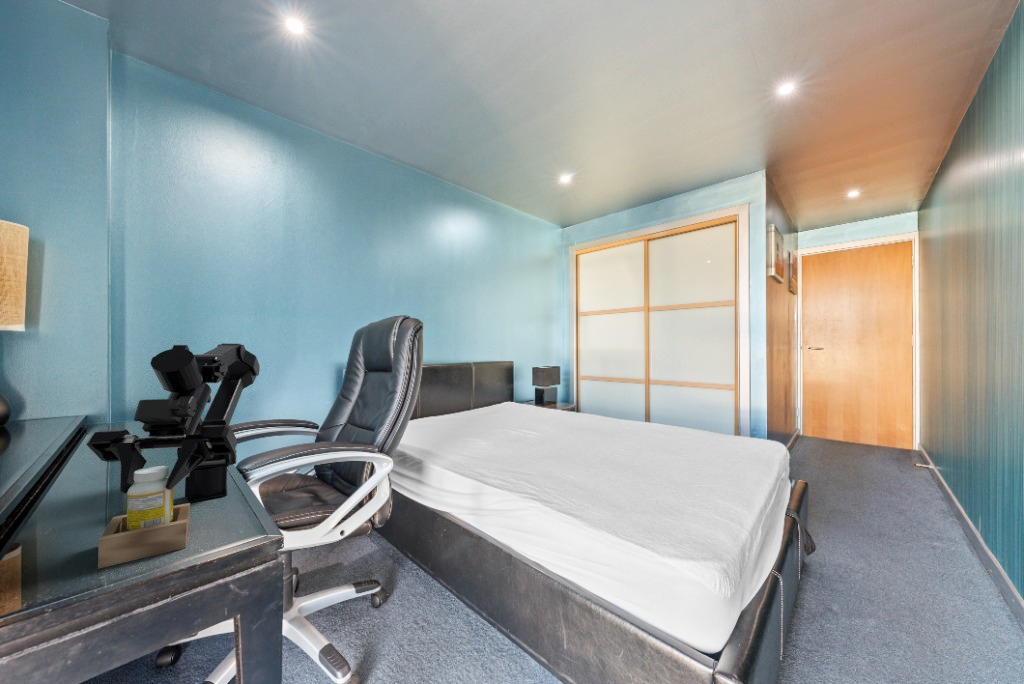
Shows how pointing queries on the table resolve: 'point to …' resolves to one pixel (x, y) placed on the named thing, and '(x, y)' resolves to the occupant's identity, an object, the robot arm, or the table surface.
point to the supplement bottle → (149, 499)
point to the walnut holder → (143, 538)
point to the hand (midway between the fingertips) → (145, 490)
